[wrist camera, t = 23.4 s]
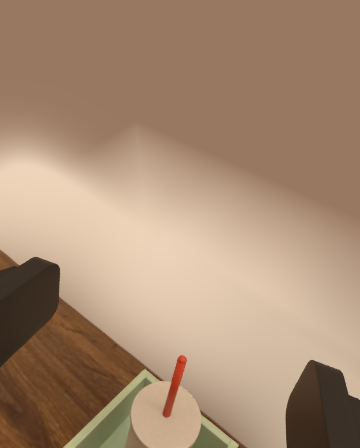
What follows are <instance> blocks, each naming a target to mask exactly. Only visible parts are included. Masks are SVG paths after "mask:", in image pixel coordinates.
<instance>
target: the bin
mask: <svg viewBox="0 0 360 448" xmlns="http://www.w3.org/2000/svg"><path fill="white" fill-rule="evenodd" d="M155 382H160V381H159V380H158V379H156V378H155V377H154V376H153V375H151V374H149V372H148V371H147V370H145V369H144V370H143V371H142V372H141V373H140V374H139V375H138V376H137V377H136V378H135V379H134V380H133V381H132V382H131V383H130V384H129V385H128V386H127V387H126V388H124V389H123V390H122V391H121V392H120V393H119V394H118V395H117V396H116V397H115V398H114V399H113V400H112V401H111V402H110V403H109V404H108V405H107V406H106V407H105V408H104V409H103V410H102V411H101V412H100V413H99V414H98V415H97V416H95V417H94V418H93V419H92V420H91V421H90V422H89V423H88V424H87V425H86V426H85V427H84V428H83V429H82V430H81V431H80V432H79V433H78V434H77V435H76V436H75V437H74V438H73V439H72V440H71V441H70V442H69V443H68V444H66V445H65V446H64V447H63V448H125V445H126V441H127V436H128V432H129V427H130V412H131V407H132V403H133V401H134V399H135V397H136V395H137V394H138V393H139V392H140V391H141V390H142V389H143V388H144V387H146V386H147V385H149V384H152V383H155ZM237 447H238V444H237V443H236V442H234V441H233V440H231V438H229V437H228V436H227V435H226V434H224V433H223V432H222V431H221V430H219V429H218V428H217V427H216V426H215V425H213V424H212V423H211V422H210V421H208V420H207V419H206V418H205V417H203V416H202V415H201V428H200V432H199V435H198V437H197V439H196V441H195V443H194V445H193V446H192V447H191V448H237Z"/></svg>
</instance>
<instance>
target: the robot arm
mask: <svg viewBox="0 0 360 448" xmlns="http://www.w3.org/2000/svg"><path fill="white" fill-rule="evenodd" d="M59 281H60V268H59V266H58V265H57V264H55V263H52V262H49V261H47V260H44V259H41V258H38V257H34V258H31V259H30V260H28V261H26V262H25V263H23V264H22V265H20V266H18V267H16V266H13V267H10V268H7V269H4V270H1V271H0V367H1V366H2V365H3V364H4V363H5V362H6V361H7V360H8V359H9V358H10V357H11V356H12V355H13V354H14V353H15V352H16V351H18V350H19V349H20V348H21V347H22V346H23V345H24V344H25V343H26V342H27V341H28V340H29V339H30V338H31V337H32V336H33V335H34V334H35V333H36V332H38V331H39V330H40V329H41V328H42V327H43V326H44V325H45V324H46V323H47V322H48V321H49V320H50V319H51V318H52V316H53V315H54V313H55V311H56V309H57V306H58V302H59ZM286 441H287V448H360V400H359V399H357V398H354V397H352V396H350V395H348V391H347V387H346V383H345V379H344V376H343V373H342V372H341V371H340V370H338V369H335V368H333V367H330V366H327V365H324V364H322V363H319V362H316V361H314V360H310V361H309V362H308V363H307V365H306V367H305V369H304V371H303V372H302V374H301V376H300V378H299V380H298V382H297V383H296V385H295V387H294V389H293V391H292V393H291V395H290V397H289V400H288V404H287V408H286Z"/></svg>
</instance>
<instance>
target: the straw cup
mask: <svg viewBox="0 0 360 448" xmlns="http://www.w3.org/2000/svg"><path fill="white" fill-rule="evenodd" d="M186 361H187V360H186V357H185V356H183V355H182V356H179V358H178V360H177V364H176V367H175V371H174V374H173V378H172V382H166V381H160V382H155V383H152V384H149V385H147V386H146V387H144V388H143V389H142V390H141V391H140V392H139V393H138V394H137V395H136V397H135V399H134V401H133V403H132V407H131V412H130V427H129V432H128V436H127V441H126V445H125V448H191V447H192V446H193V445H194V443H195V441H196V439H197V437H198V435H199V432H200V428H201V414H200V410H199V407H198V404H197V402H196V401H195V399H194V398H193V396H192V395H191V394H190V393H189V392H188V391H187V390H186V389H185V388H183V387H181V386H180V385H179V384H180V381H181V378H182V375H183V372H184V368H185V365H186Z"/></svg>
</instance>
